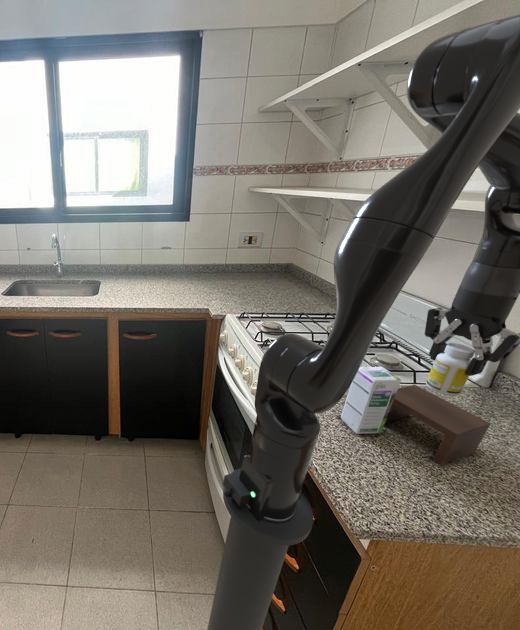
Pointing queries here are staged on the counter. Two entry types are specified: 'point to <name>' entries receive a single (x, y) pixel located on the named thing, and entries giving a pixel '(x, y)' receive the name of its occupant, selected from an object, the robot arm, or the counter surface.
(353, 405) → the syrup box
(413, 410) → the brown wooden arch block
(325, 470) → the counter surface
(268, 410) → the robot arm
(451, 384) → the supplement bottle
